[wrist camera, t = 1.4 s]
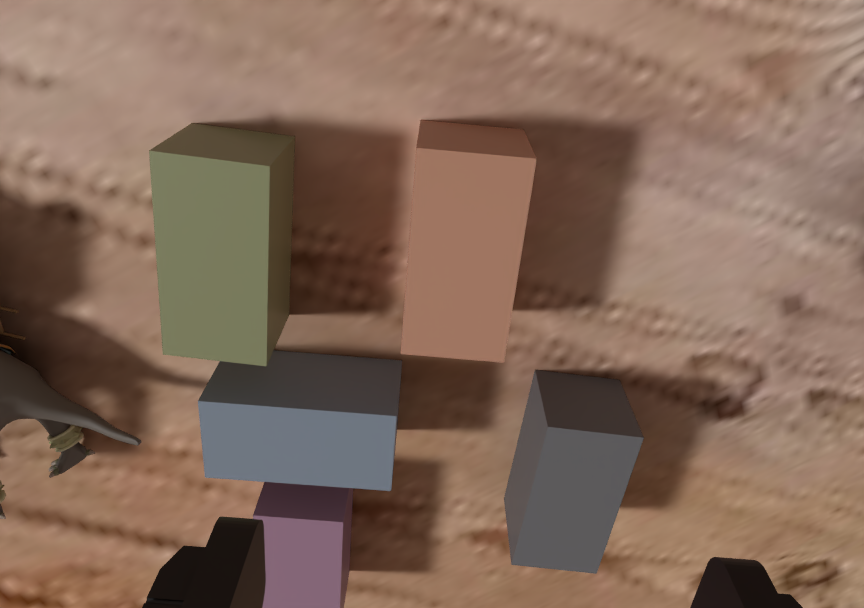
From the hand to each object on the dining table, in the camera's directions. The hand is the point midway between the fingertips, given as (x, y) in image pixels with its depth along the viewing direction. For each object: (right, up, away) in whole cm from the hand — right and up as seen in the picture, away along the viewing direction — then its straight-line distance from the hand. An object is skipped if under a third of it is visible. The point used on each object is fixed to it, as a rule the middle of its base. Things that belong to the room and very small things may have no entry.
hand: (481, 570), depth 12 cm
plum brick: (-7, -6, +23) cm, 25 cm away
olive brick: (-9, +8, +16) cm, 20 cm away
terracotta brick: (0, +8, +16) cm, 18 cm away
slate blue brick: (-6, +1, +20) cm, 21 cm away
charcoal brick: (+5, -2, +21) cm, 22 cm away
